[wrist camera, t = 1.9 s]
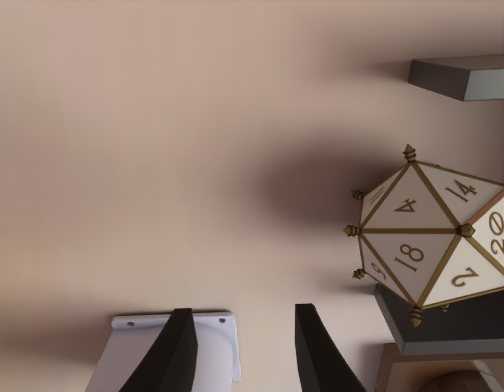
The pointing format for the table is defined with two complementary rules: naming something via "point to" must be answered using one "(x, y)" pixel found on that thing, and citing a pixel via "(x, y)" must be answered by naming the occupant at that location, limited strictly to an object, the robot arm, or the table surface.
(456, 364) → the box
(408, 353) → the cubby
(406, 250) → the game die
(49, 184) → the table surface
